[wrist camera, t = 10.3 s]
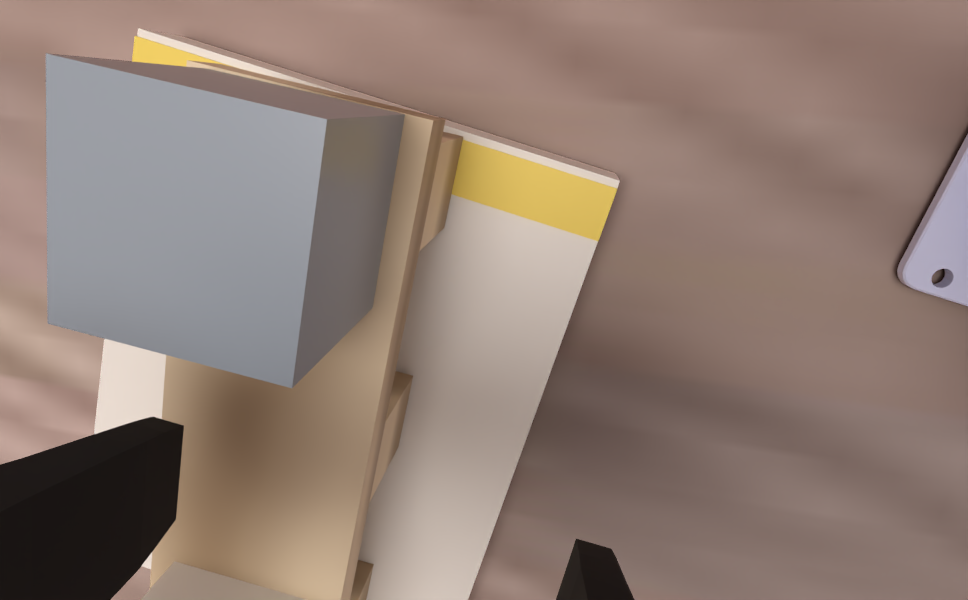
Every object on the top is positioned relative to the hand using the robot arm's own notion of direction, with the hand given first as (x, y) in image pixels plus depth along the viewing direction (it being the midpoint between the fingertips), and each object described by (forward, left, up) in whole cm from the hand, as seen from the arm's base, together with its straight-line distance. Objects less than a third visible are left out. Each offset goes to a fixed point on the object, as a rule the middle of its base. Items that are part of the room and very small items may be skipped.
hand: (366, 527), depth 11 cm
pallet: (+3, +2, -7) cm, 8 cm away
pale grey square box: (+4, -4, -3) cm, 7 cm away
